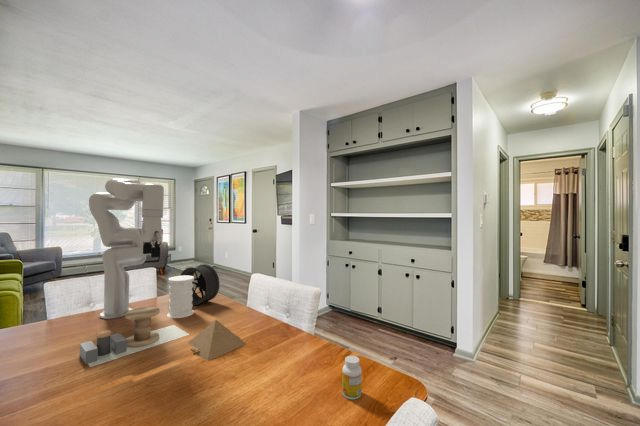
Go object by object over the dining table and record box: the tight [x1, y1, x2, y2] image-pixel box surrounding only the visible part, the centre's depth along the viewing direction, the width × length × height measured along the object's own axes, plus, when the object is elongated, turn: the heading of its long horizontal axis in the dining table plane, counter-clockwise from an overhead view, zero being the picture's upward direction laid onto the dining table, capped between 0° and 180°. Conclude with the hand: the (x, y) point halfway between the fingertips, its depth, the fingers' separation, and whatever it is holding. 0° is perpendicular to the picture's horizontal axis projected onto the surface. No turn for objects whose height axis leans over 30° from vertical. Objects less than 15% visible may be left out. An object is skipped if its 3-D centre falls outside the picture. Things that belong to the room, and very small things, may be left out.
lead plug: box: [96, 329, 112, 356], centre depth 95 cm, size 4×4×7 cm
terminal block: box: [79, 332, 127, 365], centre depth 95 cm, size 8×11×4 cm
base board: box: [87, 324, 190, 368], centre depth 103 cm, size 14×31×1 cm, turn 141°
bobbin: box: [124, 306, 161, 348], centre depth 105 cm, size 11×11×11 cm
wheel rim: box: [179, 263, 220, 306], centre depth 152 cm, size 20×9×20 cm, turn 67°
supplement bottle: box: [341, 355, 363, 400], centre depth 79 cm, size 5×5×10 cm
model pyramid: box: [187, 319, 247, 362], centre depth 105 cm, size 17×17×10 cm
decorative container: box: [166, 275, 195, 319], centre depth 133 cm, size 12×12×18 cm
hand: (151, 255), depth 117 cm, fingers open, 9 cm apart
